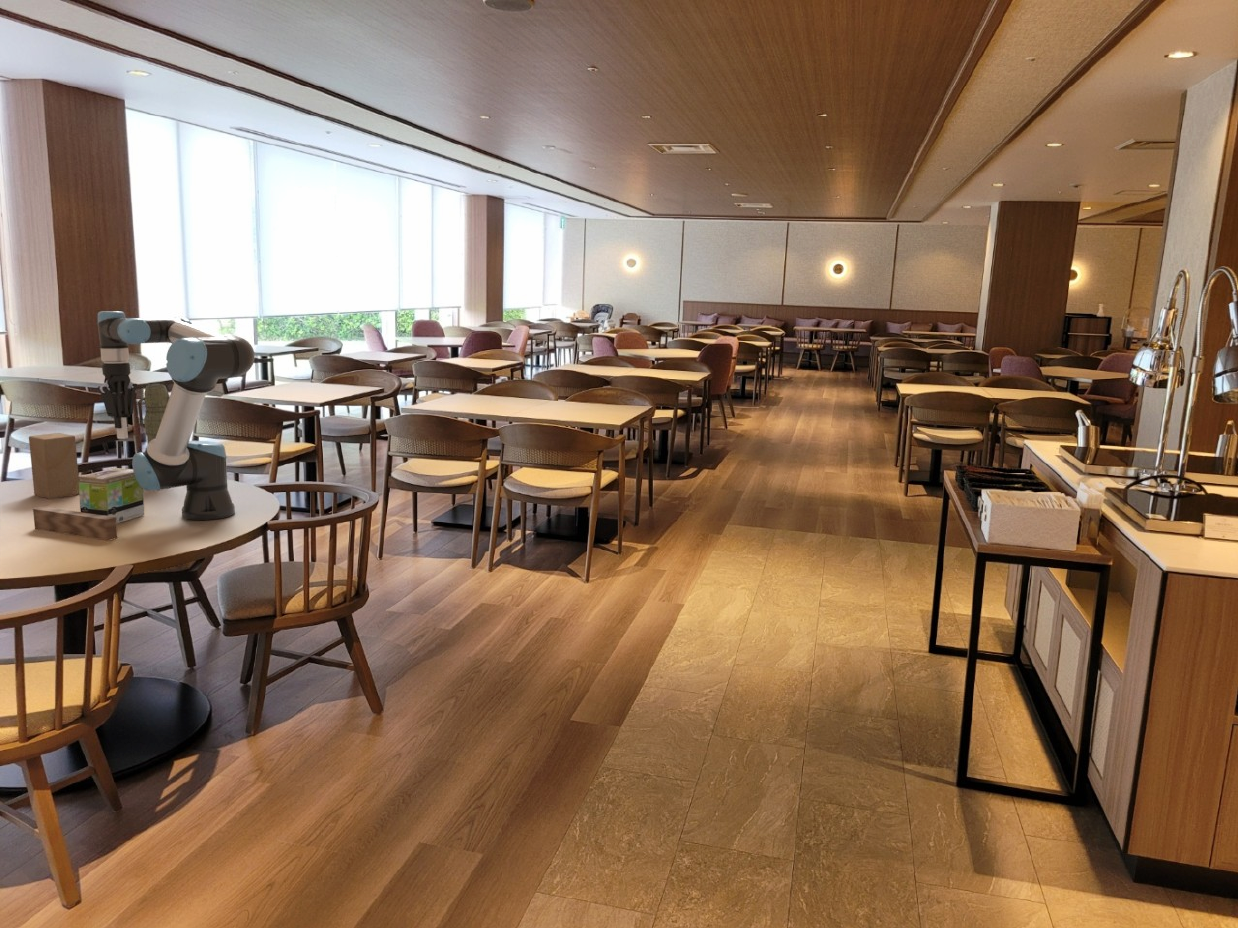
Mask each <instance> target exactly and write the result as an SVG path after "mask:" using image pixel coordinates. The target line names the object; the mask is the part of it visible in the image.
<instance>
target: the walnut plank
mask: <svg viewBox="0 0 1238 928" xmlns="http://www.w3.org/2000/svg"><path fill="white" fill-rule="evenodd" d="M32 512H33V522H34V523H33V524H34V529H35V530H39V531H40V530H41V531H46V532H51V531H52V532H53V533H58V534H66V535H72V536H78V537H84V538H88V539H89V538H90V539H95V540H102V541H111V539H112V540H114V538H115V539H117V538H118V529H117V524H116V517H110V516H104V515H97V514H90V513H83V512H81V511H77V510H69V509H68V510H67V509H61V508H54V507H48V506H39V507H35V508H32Z"/></svg>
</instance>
